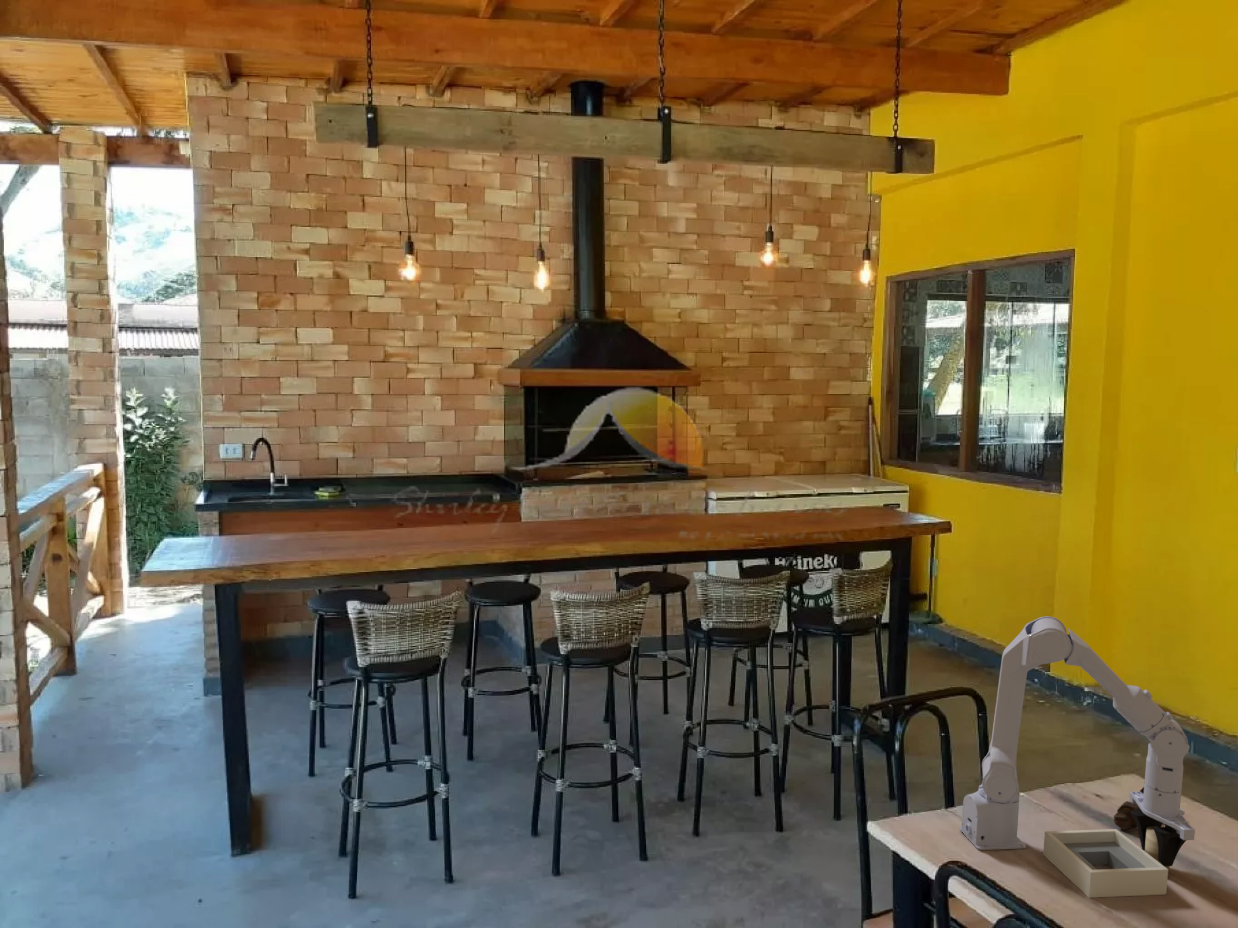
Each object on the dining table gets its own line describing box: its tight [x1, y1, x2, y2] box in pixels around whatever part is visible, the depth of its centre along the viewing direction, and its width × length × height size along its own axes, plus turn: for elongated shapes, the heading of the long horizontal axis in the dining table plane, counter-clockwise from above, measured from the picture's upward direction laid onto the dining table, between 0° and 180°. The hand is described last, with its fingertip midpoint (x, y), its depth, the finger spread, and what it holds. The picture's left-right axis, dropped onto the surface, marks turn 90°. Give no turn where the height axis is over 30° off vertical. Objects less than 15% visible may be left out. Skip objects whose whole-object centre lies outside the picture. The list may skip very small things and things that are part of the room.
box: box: [1042, 828, 1169, 899], centre depth 163 cm, size 14×14×4 cm
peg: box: [1145, 826, 1171, 874], centre depth 165 cm, size 4×4×7 cm
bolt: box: [1113, 786, 1144, 830], centre depth 184 cm, size 6×5×15 cm
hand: (1157, 858), depth 165 cm, fingers closed on peg, 4 cm apart
